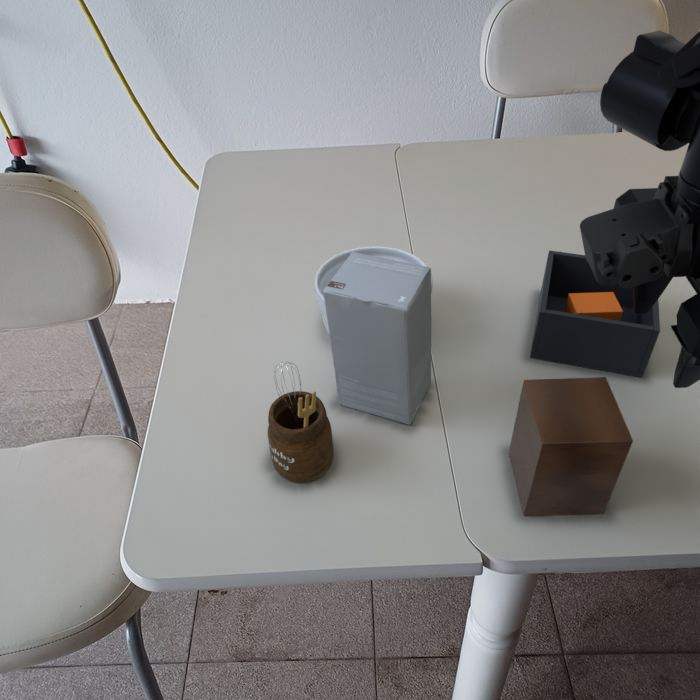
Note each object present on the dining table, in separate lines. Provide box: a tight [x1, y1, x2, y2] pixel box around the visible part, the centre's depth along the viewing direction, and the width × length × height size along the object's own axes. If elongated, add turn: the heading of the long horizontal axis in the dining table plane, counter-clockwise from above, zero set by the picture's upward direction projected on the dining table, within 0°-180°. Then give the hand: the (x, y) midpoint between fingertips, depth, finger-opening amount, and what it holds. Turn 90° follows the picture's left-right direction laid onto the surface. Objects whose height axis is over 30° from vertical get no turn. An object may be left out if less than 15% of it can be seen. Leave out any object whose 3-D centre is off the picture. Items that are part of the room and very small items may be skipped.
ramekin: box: [313, 245, 433, 336], centre depth 74 cm, size 13×13×7 cm
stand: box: [508, 376, 634, 517], centre depth 56 cm, size 7×7×10 cm
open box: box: [529, 250, 661, 378], centre depth 72 cm, size 12×12×7 cm
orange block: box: [564, 292, 623, 321], centre depth 72 cm, size 5×4×4 cm
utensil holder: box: [267, 361, 334, 483], centre depth 58 cm, size 6×6×12 cm
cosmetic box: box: [323, 252, 432, 425], centre depth 62 cm, size 8×7×16 cm
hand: (658, 347), depth 54 cm, fingers open, 9 cm apart
